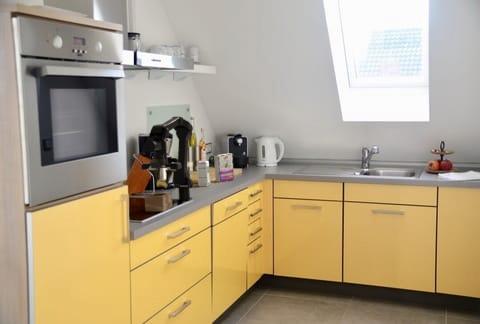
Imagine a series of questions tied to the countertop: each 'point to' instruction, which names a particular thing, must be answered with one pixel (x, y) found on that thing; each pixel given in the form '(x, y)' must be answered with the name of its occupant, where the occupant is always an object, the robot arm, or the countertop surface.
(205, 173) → the syrup box
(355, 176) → the countertop surface
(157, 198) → the money box
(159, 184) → the token
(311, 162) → the countertop surface
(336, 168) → the countertop surface
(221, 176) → the candy bar box
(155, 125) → the robot arm
